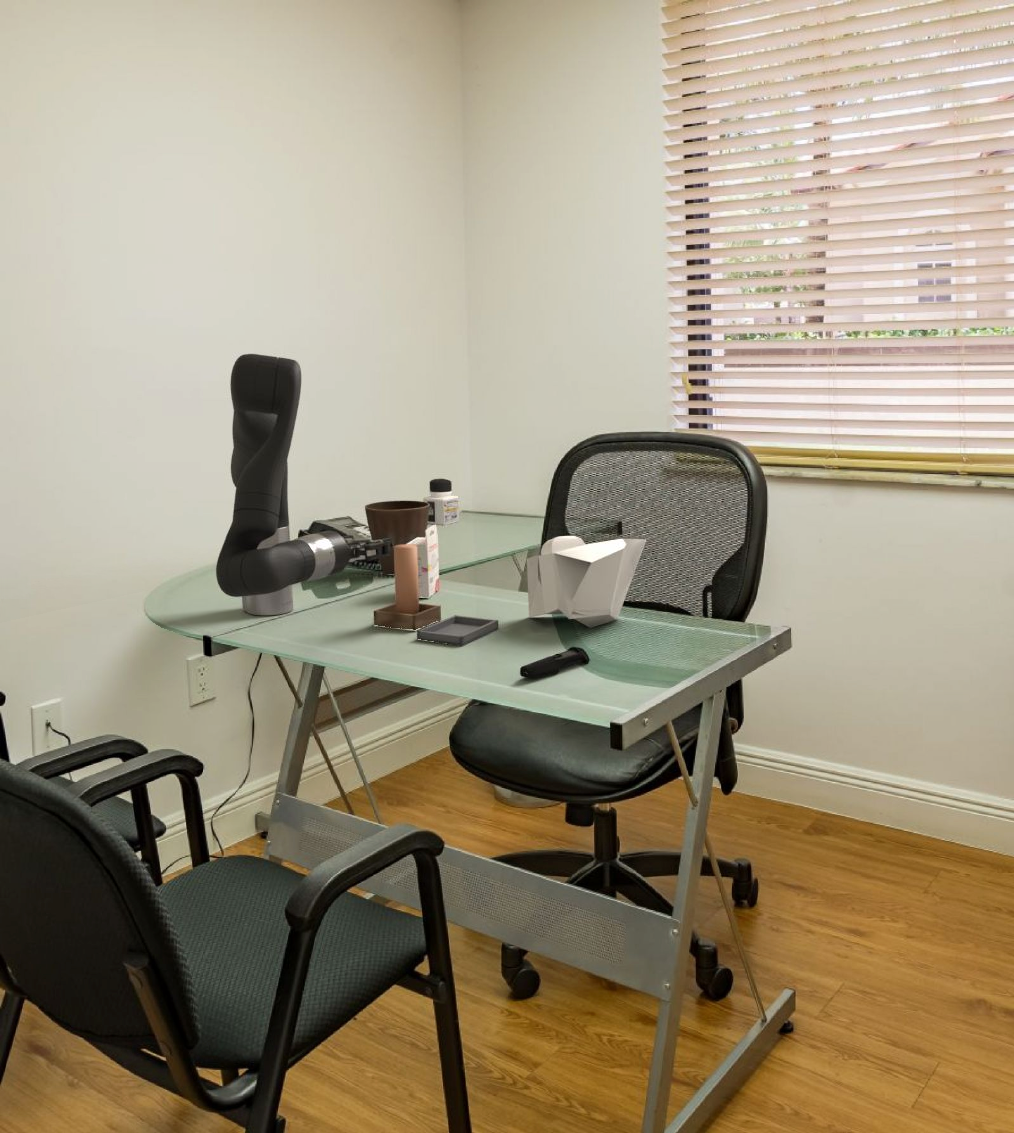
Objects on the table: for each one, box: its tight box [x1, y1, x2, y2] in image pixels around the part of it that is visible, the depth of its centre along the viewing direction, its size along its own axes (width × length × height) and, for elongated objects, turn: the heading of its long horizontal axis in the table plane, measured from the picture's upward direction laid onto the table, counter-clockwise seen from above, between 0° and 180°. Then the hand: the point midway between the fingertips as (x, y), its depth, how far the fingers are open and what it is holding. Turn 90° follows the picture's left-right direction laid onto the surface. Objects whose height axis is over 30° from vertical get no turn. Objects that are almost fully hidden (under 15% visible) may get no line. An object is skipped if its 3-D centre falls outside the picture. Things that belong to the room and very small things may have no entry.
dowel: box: [394, 544, 420, 615], centre depth 217 cm, size 4×4×15 cm
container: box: [422, 478, 460, 526], centre depth 338 cm, size 8×8×13 cm
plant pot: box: [364, 500, 430, 575], centre depth 265 cm, size 15×15×16 cm
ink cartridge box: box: [407, 524, 440, 597], centre depth 242 cm, size 9×5×15 cm, turn 168°
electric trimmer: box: [519, 646, 591, 679], centre depth 186 cm, size 4×16×3 cm, turn 139°
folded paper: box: [526, 535, 647, 629], centre depth 217 cm, size 17×24×17 cm
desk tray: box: [416, 614, 499, 647], centre depth 209 cm, size 9×13×2 cm
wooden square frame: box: [373, 602, 442, 630], centre depth 218 cm, size 9×9×3 cm
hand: (371, 542), depth 205 cm, fingers open, 8 cm apart
